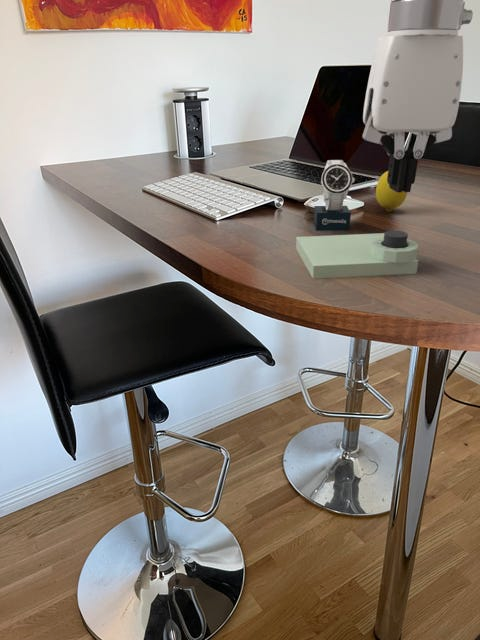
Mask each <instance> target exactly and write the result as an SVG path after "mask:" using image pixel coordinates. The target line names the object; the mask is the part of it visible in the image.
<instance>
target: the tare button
mask: <svg viewBox="0 0 480 640" xmlns="http://www.w3.org/2000/svg"><path fill="white" fill-rule="evenodd" d="M383 233H384V241H383V246H385V247H388V248H405V247H406V245H407V239H408V236H409V234H408V233H407V232H405V231H401V230H387V231H385V232H383Z"/></svg>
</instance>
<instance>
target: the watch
mask: <svg viewBox="0 0 480 640" xmlns="http://www.w3.org/2000/svg"><path fill="white" fill-rule="evenodd" d="M355 181H356V180H355V177H353V173H352V171H351V170H350V168H349V167H348V164H347V163H346V162H344V160H343V159H328V160H327V161H326V163H325V167H324V169H323V172H322V174H321V178H320V184H321V187H322V188H323V194H322V196H323V202H324V204H325V205H313V206H314V208H313V226H314V229H315V231H316V232H317V231H318V232H319V231H323V232H324V231H327V232H328V231H332V232H333V231H335V232H336V231H350V227H351V226H350V225H351V211H350V209H349V206H347V205H343V204H344V200H346V199H347V196H348V193H349V190H350V188H351V187H352V185H353V184H354V183H355Z"/></svg>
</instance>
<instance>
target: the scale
mask: <svg viewBox="0 0 480 640" xmlns="http://www.w3.org/2000/svg"><path fill="white" fill-rule="evenodd" d="M384 233H385V232H381V233H359V234H357V233H356V234H336V235H335V234H333V235H314V236H313V235H311V236H309V235H308V236H296V237H295V238H296V239H295V249H296V251H297V253H298V255H299V257H300V258H301V260H302V262H303V264H304V266H305V267H306V269H307V272H308V273H309V274H310V276H311V278H312V279H313V280H315V279H336V278H355V277H378V276H395V275H396V276H398V275H415V274H417V273H418V265H419V260H418V259H417V256H418V252H419V251H418V250H419V244H418V243H416V242H415V241H414V240H413V239H408V238H407V245H406V247H405V248H388V247H385V246H383V241H384Z"/></svg>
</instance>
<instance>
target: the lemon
mask: <svg viewBox="0 0 480 640" xmlns="http://www.w3.org/2000/svg"><path fill="white" fill-rule="evenodd" d="M387 176H388V170H387V171H385V172H384V173H383V174H382V175H380V177H379V179H378V181H377V183H376V188H375V199H376V201H377V203H378V204H379V206H381V207H382V208H384V209H385V210H386V212H388V213H391V212H392V211H394V210H395V209H397V208H399V207H401V205H403V203H404V202H405V200H406V198H407V195H408V192H404V191H402V192H395V191H394V190H392V189H391V188H390V187H389V184H388V182H387Z"/></svg>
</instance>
